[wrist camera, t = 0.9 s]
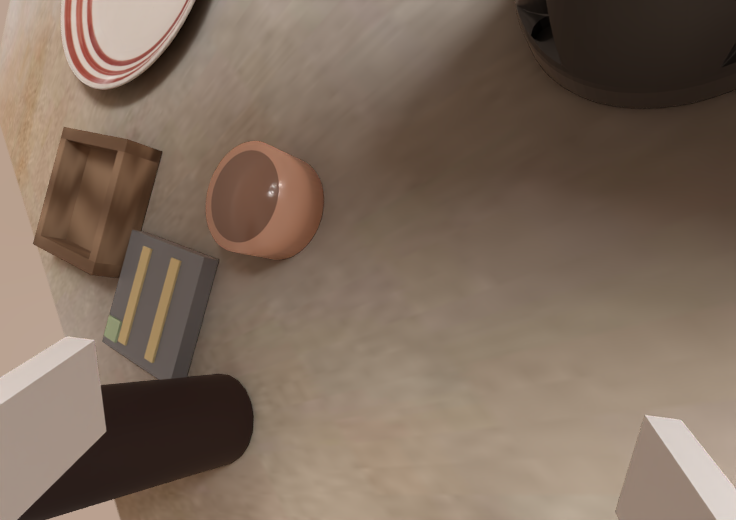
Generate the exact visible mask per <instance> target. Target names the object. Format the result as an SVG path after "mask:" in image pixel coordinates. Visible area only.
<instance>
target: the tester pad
mask: <svg viewBox="0 0 736 520" xmlns="http://www.w3.org/2000/svg"><path fill="white" fill-rule="evenodd" d="M218 261H219V260H218V259H215V258H213V257H210V256H208V255H205V254H202V253H200V252H197V251H194V250H192V249H189V248H187V247H184V246H181V245H179V244H176V243H173V242H171V241H168V240H166V239H163V238H160V237H158V236H155V235H152V234H150V233H147V232H142V231H137V230H132V233H131V236H130V240H129V244H128V247H127V251H126V255H125V259H124V262H123V266H122V270H121V273H120V277H119V281H118V285H117V288H116V292H115V296H114V300H113V303H112V307H111V311H110V314H109V317H108V321H107V325H106V328H105V332H104V337H103V341H102V342H104V343H105V344H107V345H108V346H110V347H111V348H113V349H114V350H116V351H117V352H119V353H120V354H122V355H123V356H125V357H126V358H127V359H129V360H130V361H132V362H133V363H135V364H136V365H138V366H139V367H141V368H142V369H144V370H145V371H147V372H148V373H150V374H151V375H153V376H154V377H156V378H157V379H159V380H161V379H171V378H182V377H187V374H188V371H189V367H190V363H191V360H192V356H193V352H194V349H195V345H196V342H197V338H198V334H199V331H200V327H201V323H202V320H203V316H204V312H205V309H206V305H207V301H208V298H209V294H210V290H211V287H212V283H213V279H214V276H215V272H216V268H217V265H218Z"/></svg>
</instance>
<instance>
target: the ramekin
mask: <svg viewBox="0 0 736 520" xmlns="http://www.w3.org/2000/svg"><path fill="white" fill-rule="evenodd" d="M323 206H324V195H323V188H322V184H321V181H320V179H319V177H318V175H317V173H316V172H315V170H314V169H313V168H312V167H311V166H310V165H309V164H308V163H306V162H304V161H302V160H300V159H298V158H296V157H294V156H292V155H289V154H287V153H285V152H283V151H281V150H279V149H277V148H275V147H273V146H270V145H268V144H266V143H264V142H260V141H248V142H245V143H242V144H240V145H238V146H237V147H235V148H233V149H232V150H231V151H230V152H229V153H228V154H227V155H226V156H225V157H224V158H223V159H222V161H221V162H220V163H219V165H218V166H217V168H216V170H215V172H214V174H213V176H212V178H211V181H210V184H209V187H208V192H207V197H206V219H207V224H208V227H209V230H210V233H211V235H212V236H213V238H214V240H215V241H216V242H217V243H218V244H219V245H220V246H221V247H222V248H224V249H226V250H228V251H231V252H236V253H241V254H247V255H252V256H257V257H263V258H268V259H274V260H281V259H286V258H290V257H292V256H294V255H296V254H297V253H299V252H300V251H301V250H302V249H304V248H305V247H306V245H307V244H308V243H309V242H310V241H311V239H312V238H313V236H314V234H315V233H316V231H317V229H318V226H319V224H320V221H321V217H322V213H323Z"/></svg>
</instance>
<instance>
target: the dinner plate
mask: <svg viewBox="0 0 736 520" xmlns="http://www.w3.org/2000/svg"><path fill="white" fill-rule="evenodd" d="M194 2H195V0H62V5H61V35H62V43H63V48H64V52H65V56H66V59H67V61H68V63H69V66H70V68H71V69H72V71H73V73H74V74H75V76H76V77H77V78H78V79H79V80H80V81H81V82H82V83H84V84H85V85H87V86H89V87H91V88H95V89H99V90H107V89H113V88H117V87H119V86H122V85H124V84H126V83H128V82H130V81H132V80H133V79H135V78H137V77H138V76H139V75H140V74H142V73H143V72H144V71H145V70H147V69H148V68H149V67H150V66H151V65H152V64H153V63H154V62H155V61H156V60H157V59H158V58H159V57H160V55H162V53H163V52H164V51H165V50H166V48H167V47H168V46H169V45H170V43H171V42H172V41H173V39H174V38H175V36H176V35H177V33H178V32H179V30H180V28H181V27H182V25H183V24H184V22H185V20H186V18H187V16H188V14H189V12H190V11H191V9H192V6H193V4H194Z"/></svg>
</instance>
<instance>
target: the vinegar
mask: <svg viewBox="0 0 736 520" xmlns="http://www.w3.org/2000/svg"><path fill="white" fill-rule="evenodd" d="M101 392H102V400H103V408H104V416H105V424H106V432H105V433H104V434H103V435H102V436H101V437H100V438H99V439H98V440H97V441H96V442H95V443H94V444H93V445H92V446H91V447H90V448H89V449H88V450H87V451H86V452H85V453H84V454H83V455H82V456H81V457H80V458H79V459H78V460H77V461H76V462H75V463H74V464H73V465H72V466H71V467H70V468H69V469H68V470H67V471H66V472H65V473H64V474H63V475H62V476H61V477H60V478H59V479H58V480H57V481H56V482H55V483H54V484H53V485H52V486H51V487H50V488H49V489H48V490H47V491H46V492H45V493H44V494H43V495H42V496H41V497H40V498H39V499H38V500H36V501H35V502H34V503H33V504H32V505H31V506H30V507H29V508H28V509H27V510H26V511H25V512H24V513H23V514H22V515H21V516H20V517H19V518H18V519H17V520H46V519H50V518H53V517H56V516H59V515H63V514H66V513H69V512H72V511H76V510H79V509H82V508H86V507H88V506H92V505H95V504H99V503H102V502H105V501H108V500H112V499H115V498H118V497H122V496H125V495H128V494H131V493H135V492H138V491H141V490H145V489H148V488H151V487H154V486H158V485H161V484H164V483H168V482H171V481H174V480H177V479H181V478H184V477H187V476H190V475H194V474H197V473H200V472H204V471H207V470H210V469H213V468H217V467H220V466H223V465H227V464H230V463H232V462H233V461H235V460H236V459H237V458H238V457H240V456H241V455H242V454H243V452H244V451H245V449H246V447H247V446H248V444H249V441H250V437H251V434H252V428H253V413H252V407H251V402H250V399H249V397H248V395H247V392H246V390H245V389H244V387H243V386H242V385H241V384H240V382H239V381H238V380H236V379H234V378H233V377H231V376H229V375H223V374H213V375H202V376H192V377H182V378H171V379H161V380H150V381H140V382H130V383H119V384H109V385H101Z"/></svg>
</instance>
